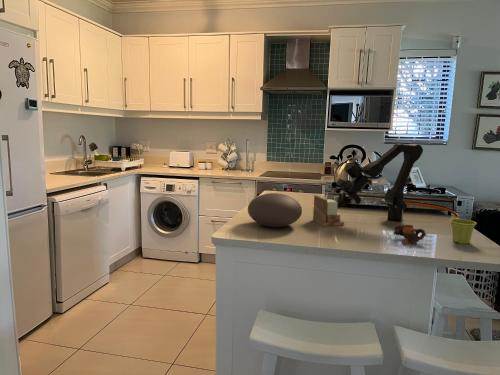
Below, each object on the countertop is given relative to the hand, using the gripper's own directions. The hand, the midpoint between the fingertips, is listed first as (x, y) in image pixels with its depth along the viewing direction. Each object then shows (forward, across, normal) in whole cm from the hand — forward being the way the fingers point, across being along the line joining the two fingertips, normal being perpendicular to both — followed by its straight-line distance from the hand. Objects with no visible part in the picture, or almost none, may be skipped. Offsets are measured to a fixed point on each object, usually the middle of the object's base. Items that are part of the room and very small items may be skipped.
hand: (335, 207), depth 181 cm
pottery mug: (-6, +35, +17) cm, 39 cm away
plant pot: (-22, +38, +32) cm, 55 cm away
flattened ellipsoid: (+27, +1, -16) cm, 32 cm away
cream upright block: (+6, 0, +2) cm, 6 cm away
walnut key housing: (+7, 0, +3) cm, 8 cm away
